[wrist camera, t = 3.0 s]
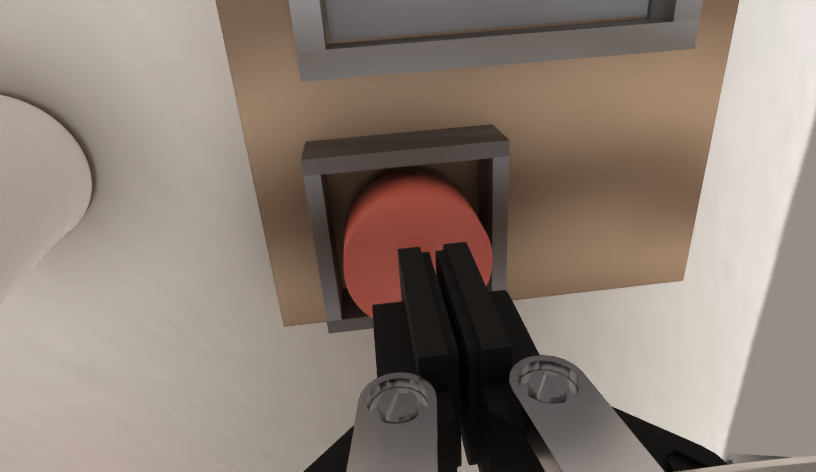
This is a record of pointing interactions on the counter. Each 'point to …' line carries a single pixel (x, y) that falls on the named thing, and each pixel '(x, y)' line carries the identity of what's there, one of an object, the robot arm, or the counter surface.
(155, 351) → the counter surface
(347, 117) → the brown flat wooden board
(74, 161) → the drinking glass
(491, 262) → the button
